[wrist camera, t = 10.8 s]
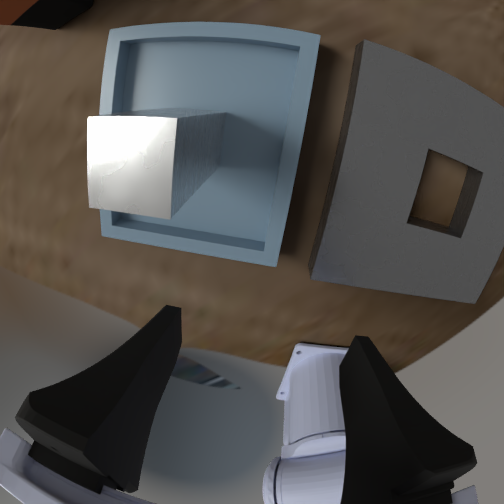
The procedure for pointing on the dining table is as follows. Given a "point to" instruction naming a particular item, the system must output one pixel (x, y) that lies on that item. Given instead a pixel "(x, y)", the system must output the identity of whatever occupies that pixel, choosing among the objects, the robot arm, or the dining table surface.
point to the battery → (41, 12)
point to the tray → (235, 131)
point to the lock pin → (151, 158)
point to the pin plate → (411, 182)
